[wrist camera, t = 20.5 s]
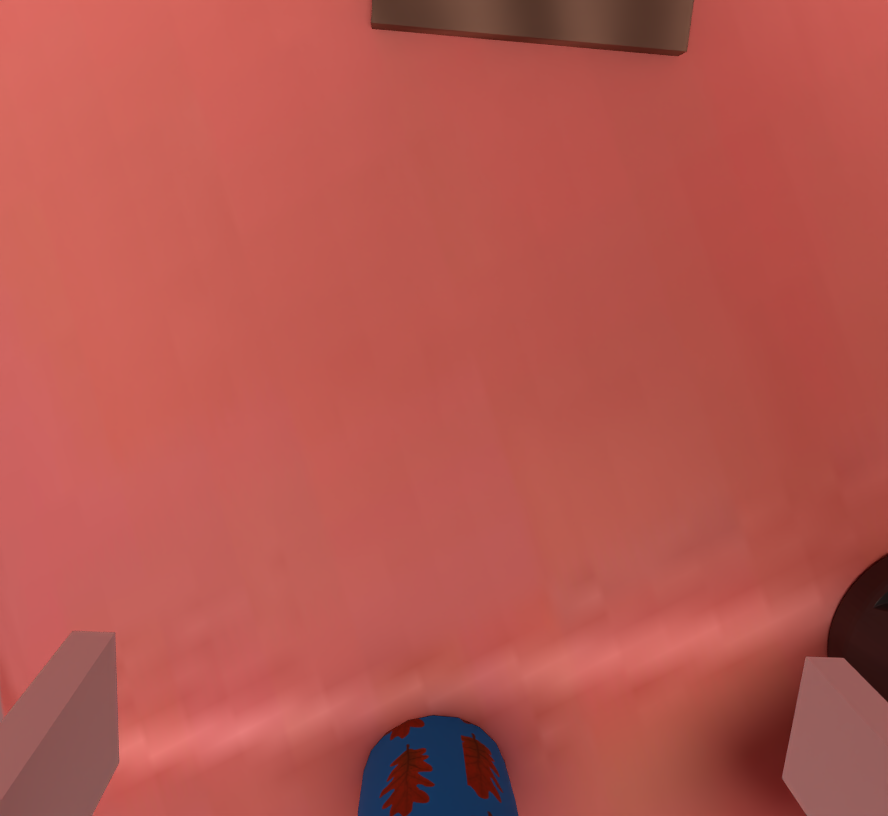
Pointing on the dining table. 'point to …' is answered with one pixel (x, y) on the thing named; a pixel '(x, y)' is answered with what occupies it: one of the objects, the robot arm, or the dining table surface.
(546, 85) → the dining table surface
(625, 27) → the walnut board
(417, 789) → the thermos
